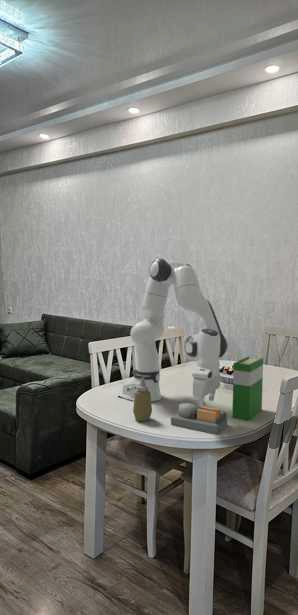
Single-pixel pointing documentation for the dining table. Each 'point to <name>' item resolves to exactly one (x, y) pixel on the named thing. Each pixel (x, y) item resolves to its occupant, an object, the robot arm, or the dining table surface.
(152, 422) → the dining table surface
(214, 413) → the chute
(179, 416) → the panel with grey ball
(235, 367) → the hardback book
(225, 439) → the dining table surface
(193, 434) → the dining table surface
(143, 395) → the squeeze bottle
